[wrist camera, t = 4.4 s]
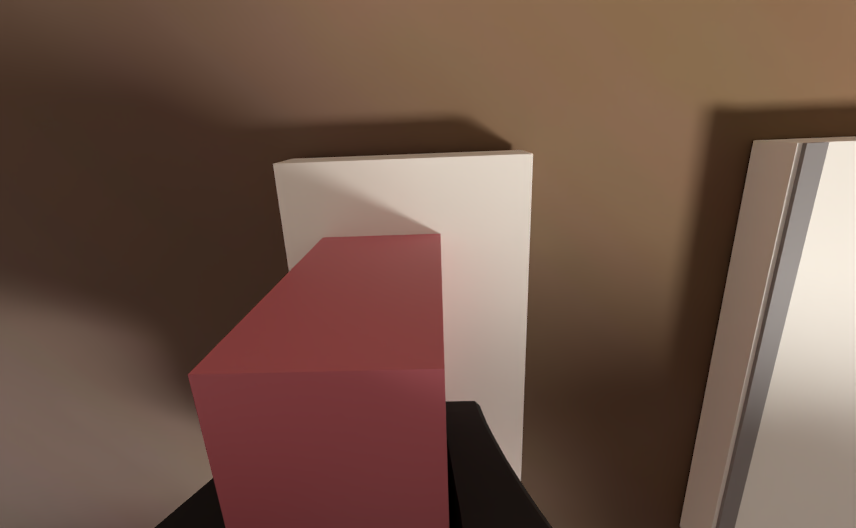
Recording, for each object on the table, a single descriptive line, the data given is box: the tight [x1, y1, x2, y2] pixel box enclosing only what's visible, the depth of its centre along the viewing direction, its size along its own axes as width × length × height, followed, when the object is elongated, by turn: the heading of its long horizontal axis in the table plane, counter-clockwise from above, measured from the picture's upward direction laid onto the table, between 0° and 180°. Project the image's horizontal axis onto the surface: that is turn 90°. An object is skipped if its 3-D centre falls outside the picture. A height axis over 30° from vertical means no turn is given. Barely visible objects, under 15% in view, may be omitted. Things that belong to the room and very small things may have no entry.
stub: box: [188, 150, 533, 528], centre depth 8 cm, size 11×5×6 cm, turn 2°
